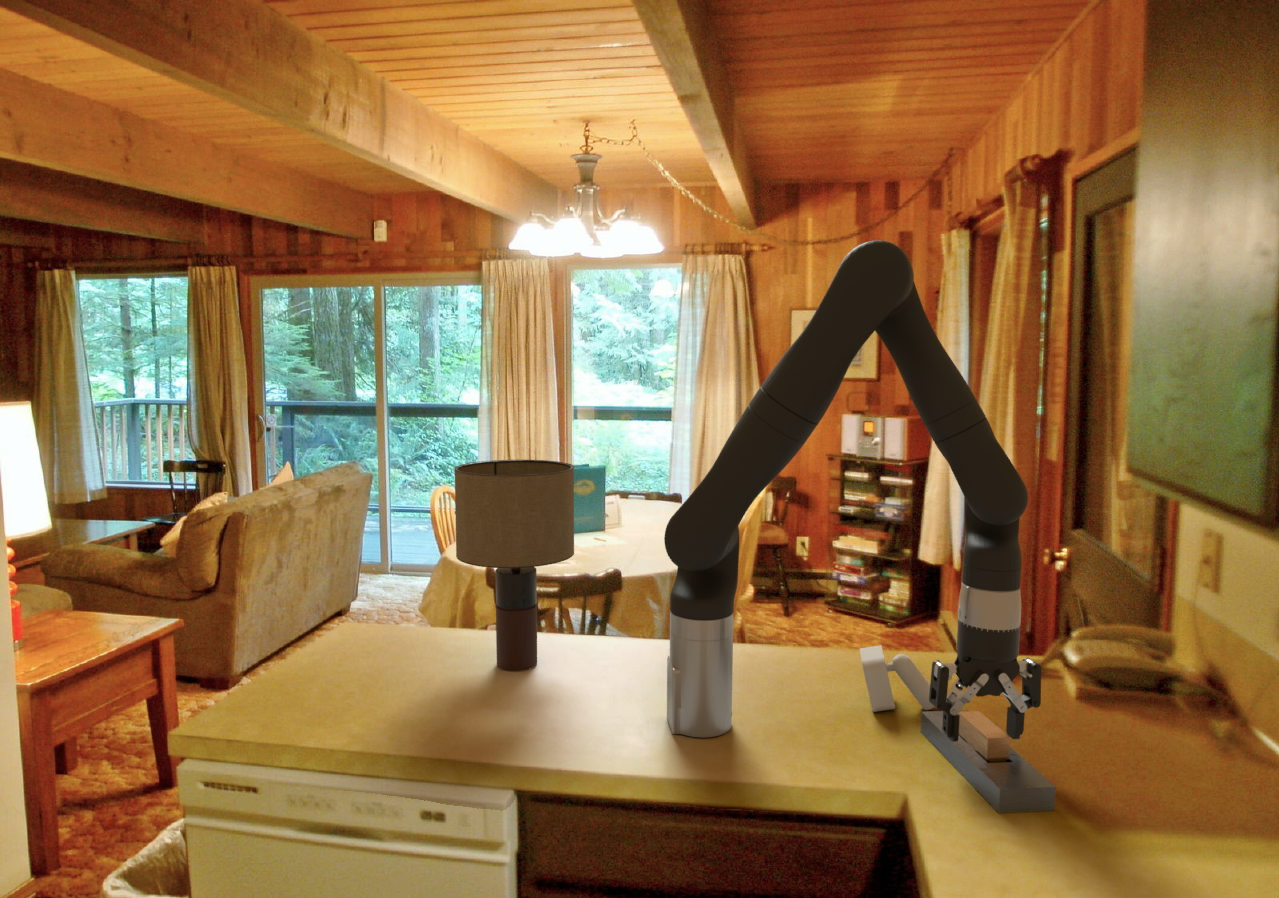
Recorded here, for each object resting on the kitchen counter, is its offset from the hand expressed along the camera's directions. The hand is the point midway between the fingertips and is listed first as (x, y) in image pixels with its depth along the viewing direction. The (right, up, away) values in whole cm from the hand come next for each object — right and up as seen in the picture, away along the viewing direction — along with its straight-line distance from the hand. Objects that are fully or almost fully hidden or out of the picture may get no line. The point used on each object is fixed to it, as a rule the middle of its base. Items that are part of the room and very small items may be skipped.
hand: (982, 737), depth 112 cm
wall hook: (-5, -2, +20) cm, 21 cm away
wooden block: (0, -4, 0) cm, 4 cm away
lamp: (-67, 0, +37) cm, 76 cm away
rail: (0, -4, 0) cm, 4 cm away
